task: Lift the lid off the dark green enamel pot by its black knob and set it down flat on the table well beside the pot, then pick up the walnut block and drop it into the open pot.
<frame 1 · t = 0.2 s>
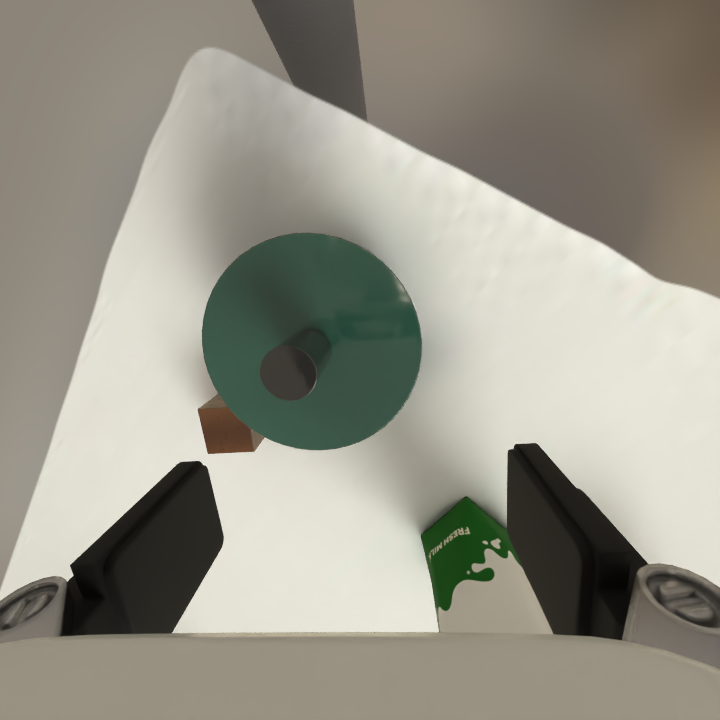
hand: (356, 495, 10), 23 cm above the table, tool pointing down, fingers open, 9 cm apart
block: (245, 410, 35), on the table
milk carton: (465, 533, 37), on the table
lid: (311, 348, 23), point 9 cm above the table, touching pot
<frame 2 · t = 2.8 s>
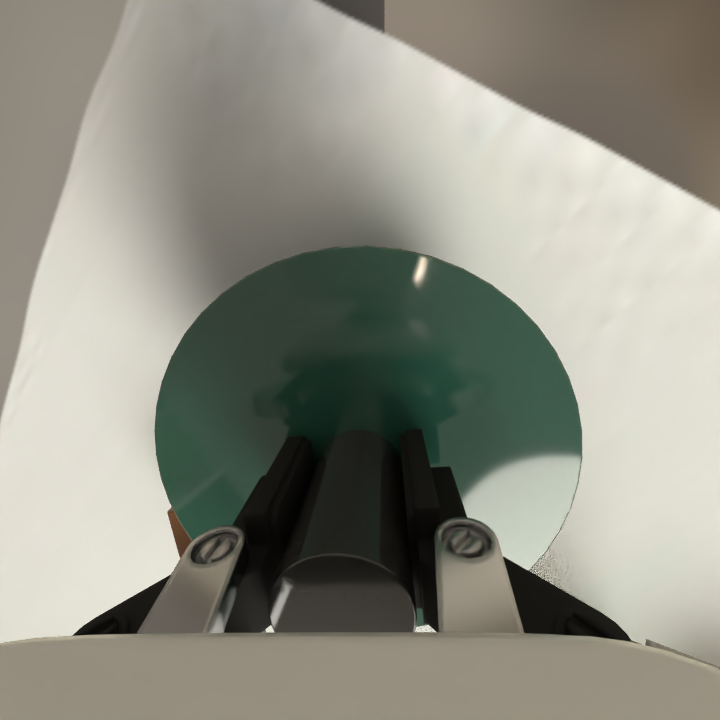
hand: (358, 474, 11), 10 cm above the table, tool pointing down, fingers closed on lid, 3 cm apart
block: (242, 494, 24), on the table
lid: (360, 459, 12), point 10 cm above the table, touching gripper, pot
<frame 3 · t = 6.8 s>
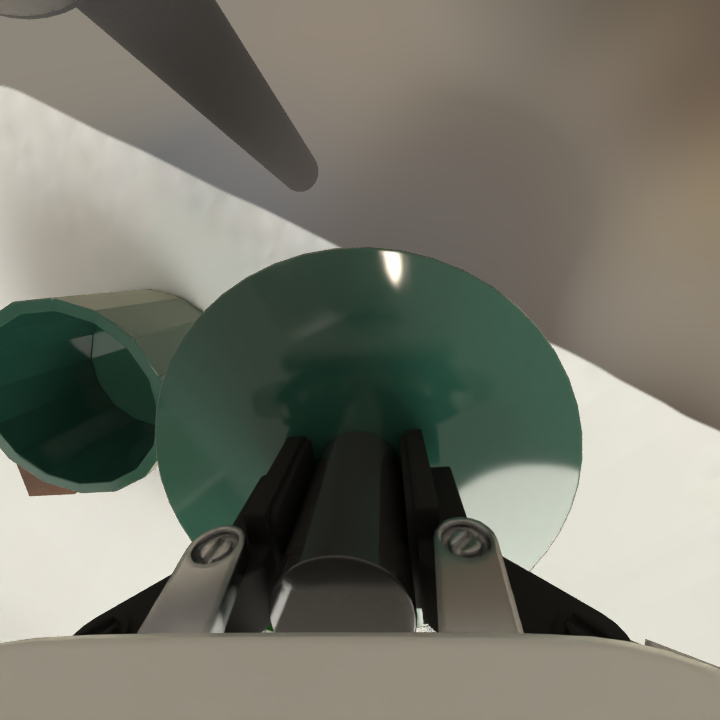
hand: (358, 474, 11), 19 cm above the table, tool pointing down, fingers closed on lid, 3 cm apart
pot: (159, 364, 32), on the table
block: (86, 447, 34), on the table
lid: (360, 460, 12), point 18 cm above the table, touching gripper
when the fingers open (1 cm above the table, at t = 10.8 s): lid stays where it is, point 1 cm above the table.
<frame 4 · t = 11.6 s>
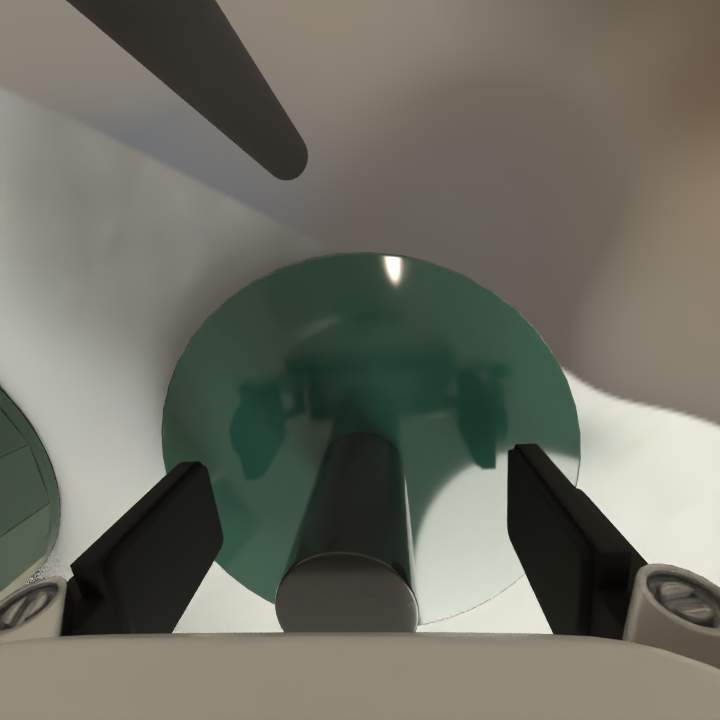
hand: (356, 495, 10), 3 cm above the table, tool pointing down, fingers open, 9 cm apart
lid: (363, 460, 13), point 1 cm above the table
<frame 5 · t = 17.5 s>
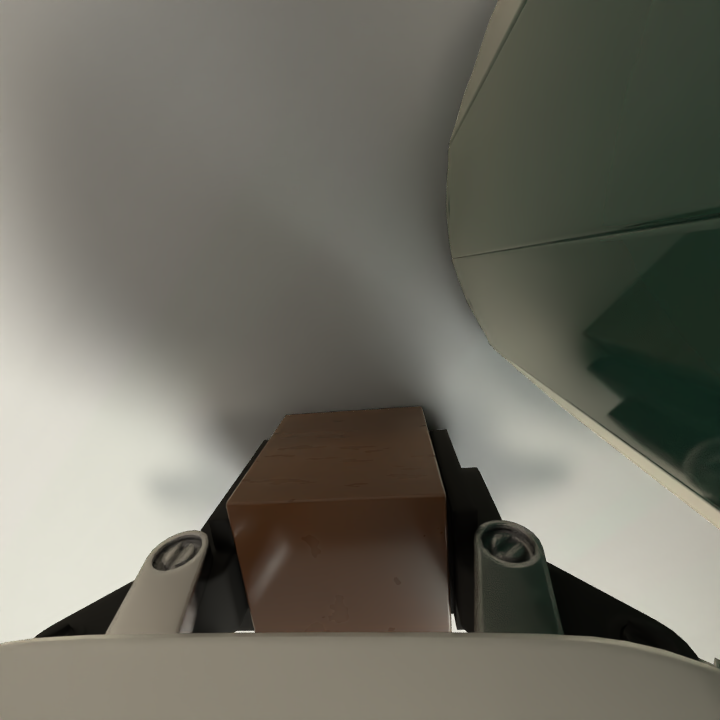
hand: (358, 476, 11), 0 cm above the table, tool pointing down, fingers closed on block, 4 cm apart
pot: (713, 177, 9), on the table
block: (359, 470, 12), on the table, touching gripper
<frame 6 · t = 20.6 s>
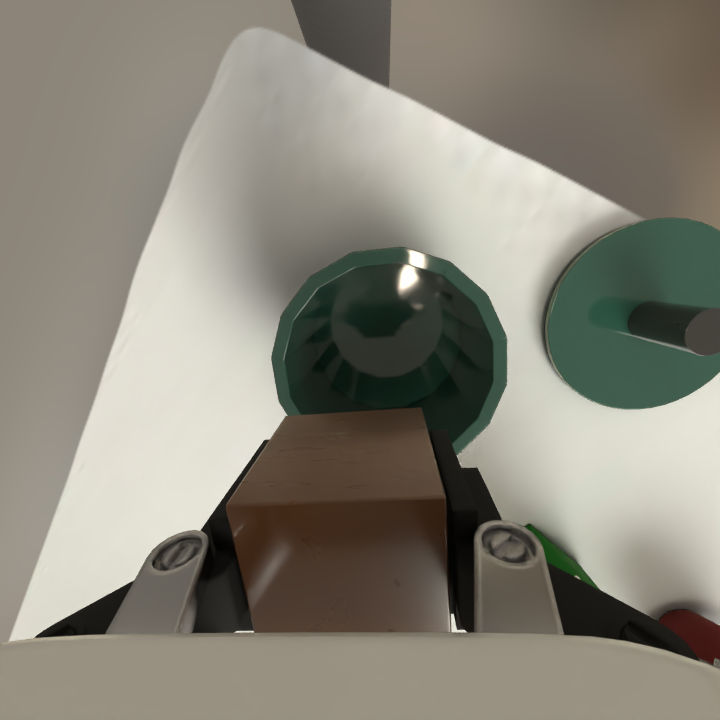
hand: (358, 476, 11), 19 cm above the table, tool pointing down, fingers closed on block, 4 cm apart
pot: (386, 339, 29), on the table
block: (359, 471, 12), point 18 cm above the table, touching gripper
mug: (688, 623, 34), on the table
milk carton: (526, 563, 34), on the table
lid: (642, 319, 27), point 1 cm above the table
when the fingers open (7 cm above the table, at t = 23.9 s): block drops 6 cm, resting on pot.
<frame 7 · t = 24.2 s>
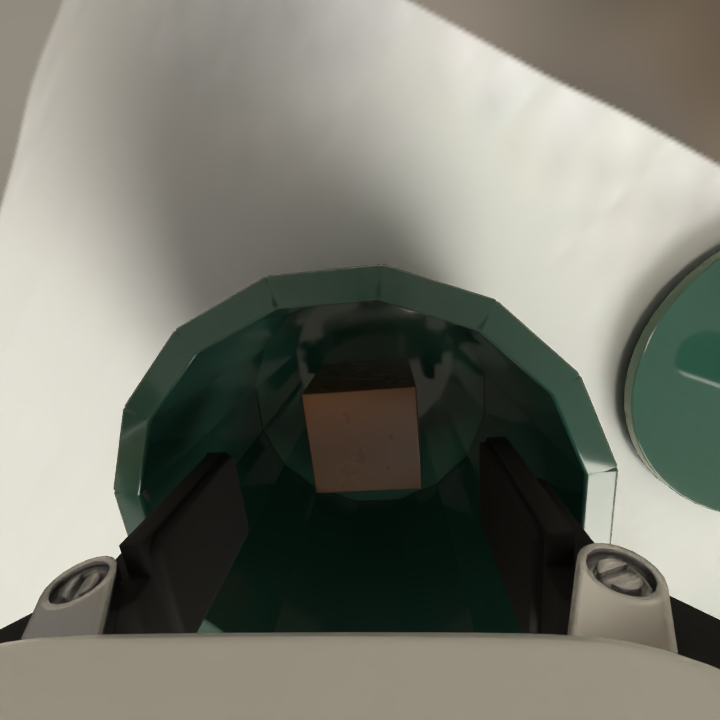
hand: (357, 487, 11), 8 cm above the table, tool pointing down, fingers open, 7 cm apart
pot: (368, 398, 19), on the table
block: (368, 401, 18), point 1 cm above the table, touching pot
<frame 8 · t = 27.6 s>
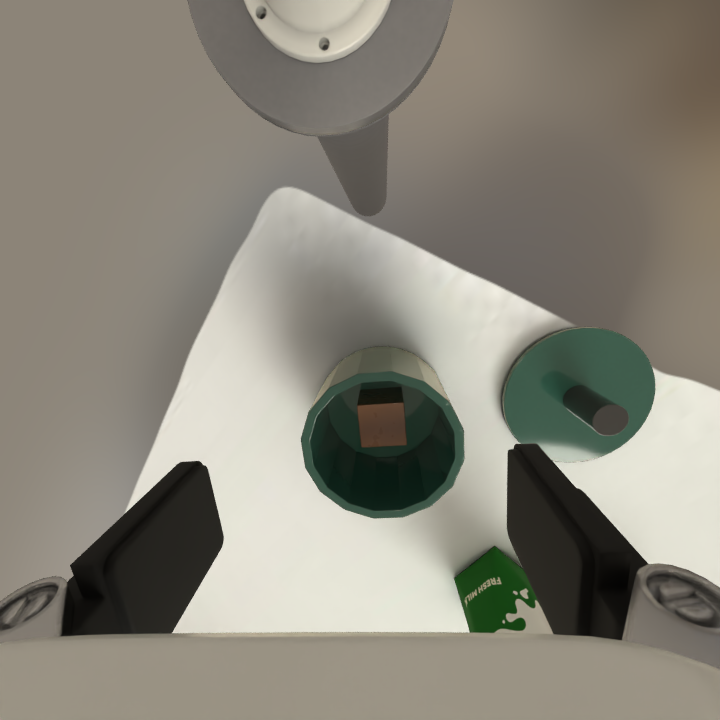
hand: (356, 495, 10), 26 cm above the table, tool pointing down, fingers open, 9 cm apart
pot: (382, 406, 38), on the table
block: (382, 407, 37), resting on pot
milk carton: (493, 576, 43), on the table
lid: (575, 396, 35), point 1 cm above the table
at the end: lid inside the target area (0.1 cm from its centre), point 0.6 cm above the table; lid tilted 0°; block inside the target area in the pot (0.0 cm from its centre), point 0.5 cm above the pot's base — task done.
